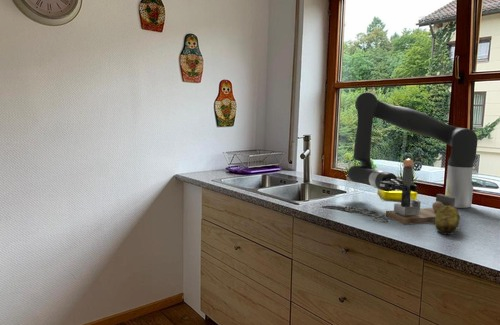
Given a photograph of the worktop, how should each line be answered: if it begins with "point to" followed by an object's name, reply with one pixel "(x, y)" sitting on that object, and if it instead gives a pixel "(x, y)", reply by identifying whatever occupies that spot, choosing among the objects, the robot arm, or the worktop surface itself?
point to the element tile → (394, 195)
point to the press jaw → (407, 193)
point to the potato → (447, 219)
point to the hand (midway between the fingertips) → (412, 189)
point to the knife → (362, 212)
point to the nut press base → (421, 212)
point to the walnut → (437, 206)
